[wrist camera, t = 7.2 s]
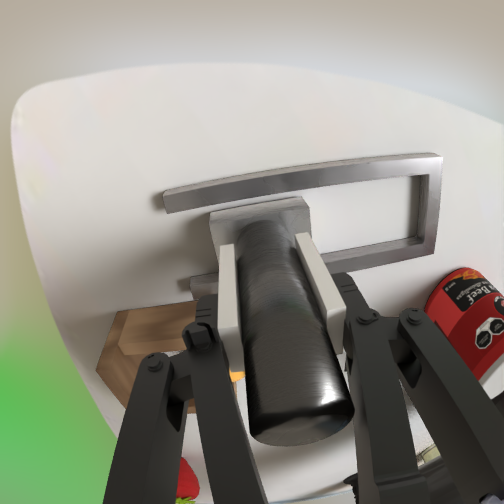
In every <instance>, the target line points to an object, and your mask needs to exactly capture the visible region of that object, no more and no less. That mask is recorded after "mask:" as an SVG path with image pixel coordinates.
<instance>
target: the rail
mask: <svg viewBox="0 0 504 504" xmlns="http://www.w3.org/2000/svg"><path fill="white" fill-rule="evenodd" d="M442 162H443V157H442V156H439V155H437V154H435V153H424V154H407V155H394V156H381V157H370V158H360V159H351V160H341V161H333V162H325V163H317V164H309V165H302V166H295V167H288V168H281V169H275V170H268V171H262V172H256V173H250V174H245V175H239V176H233V177H228V178H223V179H217V180H212V181H207V182H202V183H197V184H193V185H188V186H183V187H178V188H174V189H169V190H166V191H165V192H164V194H163V196H162V198H163V201H164V205H165V208H166V212H167V214H170V213H174V212H179V211H184V210H189V209H194V208H199V207H204V206H209V205H215V204H220V203H225V202H231V201H236V200H242V199H247V198H253V197H259V196H265V195H271V194H277V193H283V192H289V191H296V190H302V189H309V188H316V187H323V186H330V185H337V184H344V183H352V182H360V181H368V180H376V179H385V178H394V177H403V176H413V175H421V182H420V202H419V216H418V228H417V236H416V237H411V238H405V239H400V240H395V241H390V242H385V243H379V244H374V245H369V246H364V247H358V248H353V249H348V250H342V251H337V252H331V253H326V254H320V256H321V258H322V260H323V262H324V264H325V266H326V268H327V270H328V271H329V273H330V274H335V273H340V272H345V273H347V272H352V271H357V270H362V269H367V268H372V267H376V266H381V265H386V264H390V263H395V262H400V261H404V260H409V259H413V258H417V257H422V256H426V255H431V254H434V249H435V242H436V235H437V227H438V218H439V209H440V197H441V183H442ZM190 289H191V292H192V295H193V298H194V300H196V299H200V297H201V296H203V295H210V294H217V293H218V291H219V272H218V273H213V274H207V275H201V276H195V277H191V281H190Z"/></svg>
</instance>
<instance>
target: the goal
mask: <svg viewBox="0 0 504 504" xmlns="http://www.w3.org/2000/svg"><path fill="white" fill-rule="evenodd" d="M197 302H198V300H197V301H190V302H183V303H177V304H170V305H163V306H156V307H149V308H141V309H134V310H126V311H118V312H117V314H116V317H115V319H114V322H113V324H112V327H111V329H110V332H109V335H108V337H107V340H106V343H105V345H104V348H103V351H102V354H101V356H100V359H99V362H98V365H97V368H96V372H97V373H98V374H99V376H100V377H101V378H102V380H103V381H104V382H105V384H106V385H107V386H108V388H109V389H110V390H111V391H112V393H113V394H114V395H115V396H116V398H117V399H118V400H119V401H120V403H121V404H122V405H123V406H124V407H125V409H126V408H127V404H128V401H129V398H130V394H131V391H132V388H133V384H134V381H135V378H136V375H137V371H138V368H139V365H140V363H141V361H142V359H143V358H145V357H146V356H147V355H149V354H151V353H155V352H169V351H179V350H186V349H187V348H186V346H185V343H184V341H183V338H182V336H181V335H182V331H183V329H184V328H185V326H187V325H188V324H190V323H192V322H194V321H195V313H196V305H197ZM232 383H233V387H234V391H235V395H236V398H237V388H236V381H235V382H232ZM191 413H196V408H195V402H194V398H193V399H190V400H189V404H188V411H187V414H191Z"/></svg>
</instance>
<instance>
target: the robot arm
mask: <svg viewBox="0 0 504 504" xmlns="http://www.w3.org/2000/svg"><path fill="white" fill-rule="evenodd" d="M295 245H296V251H297V254H298V256H299V259H300V261H301V264H302V266H303V269H304V271H305V274H306V276H307V279H308V281H309V284H310V287H311V289H312V292H313V294H314V297H315V299H316V302H317V305H318V307H319V310H320V313H321V315H322V318H323V321H324V323H325V326H326V329H327V331H328V334H329V337H330V339H331V342H332V345H333V348H334V350H335V353H336V355H338V354H342V353H343V346H344V349H345V351H346V362H345V370H344V372H345V371H347V374H348V382H349V389H350V396H351V398H352V401H353V404H354V407H355V414H354V416H353V424H354V434H355V445H356V457H357V470H358V487H359V504H504V391H503V392H501V393H500V394H499V395H497V396H496V397H494V398H492V399H490V397H489V396H488V394H487V393H486V391H485V390H484V389H483V387H482V386H481V384H480V383H479V381H478V380H477V379H476V377H475V376H474V374H473V373H472V372H471V370H470V369H469V368H468V366H467V365H466V364H465V362H464V361H463V359H462V358H461V357H460V356H459V354H458V353H457V352H456V350H455V349H454V348H453V346H452V345H451V344H450V342H449V341H448V340H447V339H446V337H445V336H444V335H443V334H442V332H441V331H440V330H439V329H438V327H437V326H436V325H435V324H434V322H433V321H432V320H431V319H430V317H429V316H428V315H427V314H426V313H425V312H424V311H422V310H420V309H416V308H409V309H406V310H404V311H402V312H401V314H400V316H399V318H395V317H382V316H380V314H379V313H378V312H377V311H375V310H373V309H370V308H369V306H368V305H367V303H366V301H365V299H364V298H363V296H362V294H361V292H360V291H359V290H358V287H357V286H356V285H355V282H354V280H353V279H352V277H351V276H349V275H348V274H346V273H345V272H340V273H335V274H330V273H329V271H328V270H327V268H326V266H325V264H324V262H323V260H322V258H321V256H320V254H319V252H318V250H317V248H316V246H315V245H314V243H313V241H312V239H311V237H310V235H309V233H308V232H305V233H298V234H295ZM181 336H182V338H183V341H184V343H185V346H186V348H187V349H186V350H185V351H183V352H182V353H179V354H177V355H174V356H171V357H168V355H166V354H165V353H161V352H155V353H151V354H149V355H147V356H146V357H145V358H143V359H142V361H141V363H140V365H139V368H138V371H137V375H136V378H135V381H134V384H133V388H132V391H131V394H130V398H129V401H128V404H127V408H126V411H125V415H124V418H123V422H122V426H121V429H120V433H119V437H118V441H117V445H116V448H115V452H114V456H113V461H112V464H111V469H110V473H109V477H108V481H107V486H106V491H105V495H104V500H103V504H175V503H176V494H177V486H178V477H179V469H180V461H181V454H182V446H183V439H184V432H185V425H186V418H187V411H188V404H189V400H190V399H193V398H194V402H195V408H196V414H197V420H198V426H199V432H200V438H201V443H202V448H203V454H204V459H205V464H206V469H207V474H208V478H209V483H210V488H211V492H212V496H213V501H214V504H268V501H267V498H266V494H265V491H264V488H263V485H262V482H261V479H260V476H259V473H258V470H257V466H256V463H255V460H254V457H253V453H252V450H251V447H250V444H249V440H248V437H247V433H246V430H245V427H244V423H243V420H242V416H241V413H240V409H239V405H238V402H237V398H236V395H235V391H234V387H233V383H232V380H231V377H230V371H231V373H233V372H241V371H245V368H244V354H243V340H242V326H241V312H240V297H239V281H238V266H237V259H236V254H235V248H234V244H229V245H223V246H220V260H219V291H218V293H217V294H210V295H203V296H201V297H200V299H199V300H198V302H197V305H196V313H195V321H194V322H192V323H190V324H188V325H187V326H185V328H184V329H183V331H182V335H181ZM229 367H230V369H229ZM399 379H400V381H401V383H402V385H403V386H404V388H405V390H406V392H407V393H408V395H409V397H410V399H411V400H412V402H413V404H414V406H415V408H416V409H417V411H418V413H419V415H420V417H421V419H422V420H423V422H424V424H425V426H426V428H427V430H428V432H429V434H430V435H431V437H432V439H433V441H434V443H435V445H436V447H437V449H438V451H439V453H440V455H439V456H437V457H436V458H434V459H432V460H430V461H428V462H426V463H424V464H423V465H421V466H419V467H418V466H417V460H416V454H415V448H414V443H413V438H412V433H411V428H410V423H409V419H408V414H407V410H406V405H405V401H404V397H403V393H402V389H401V385H400V381H399Z"/></svg>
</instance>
